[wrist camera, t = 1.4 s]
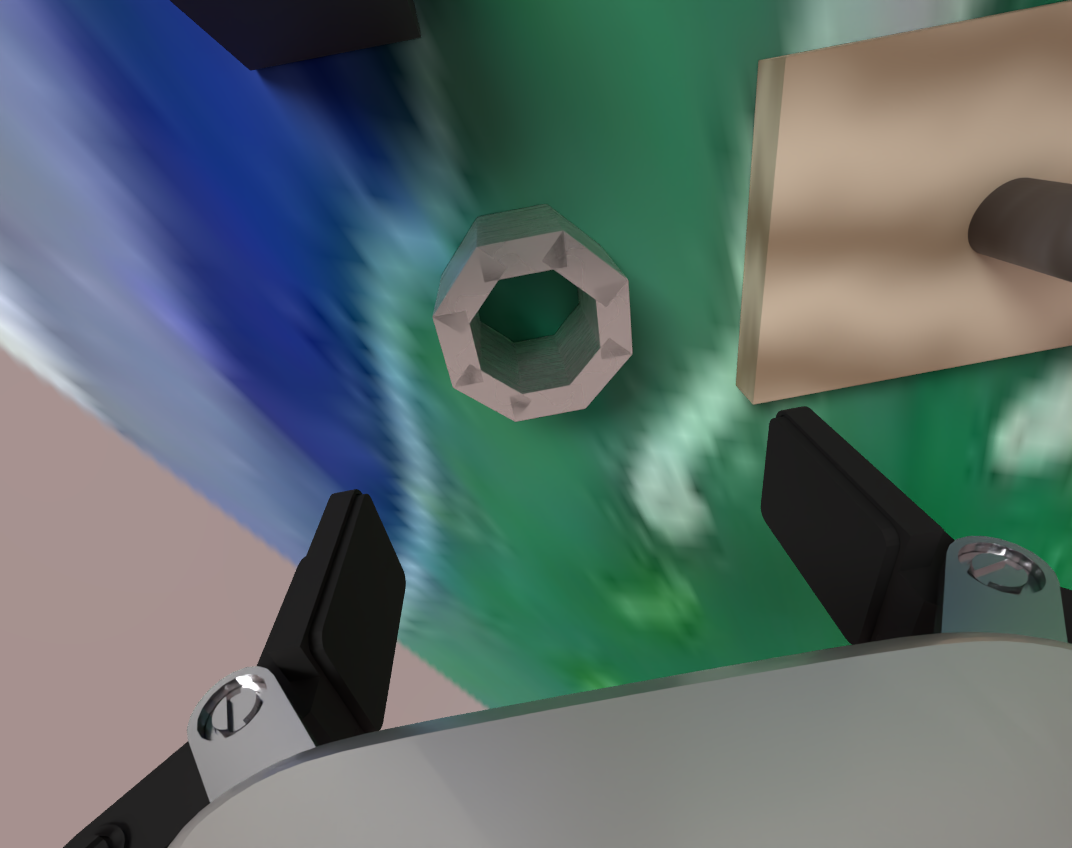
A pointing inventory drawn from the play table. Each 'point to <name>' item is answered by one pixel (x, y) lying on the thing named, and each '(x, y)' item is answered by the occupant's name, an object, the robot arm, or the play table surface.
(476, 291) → the steel ring
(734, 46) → the play table surface
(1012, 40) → the post stand
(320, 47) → the phone stand
